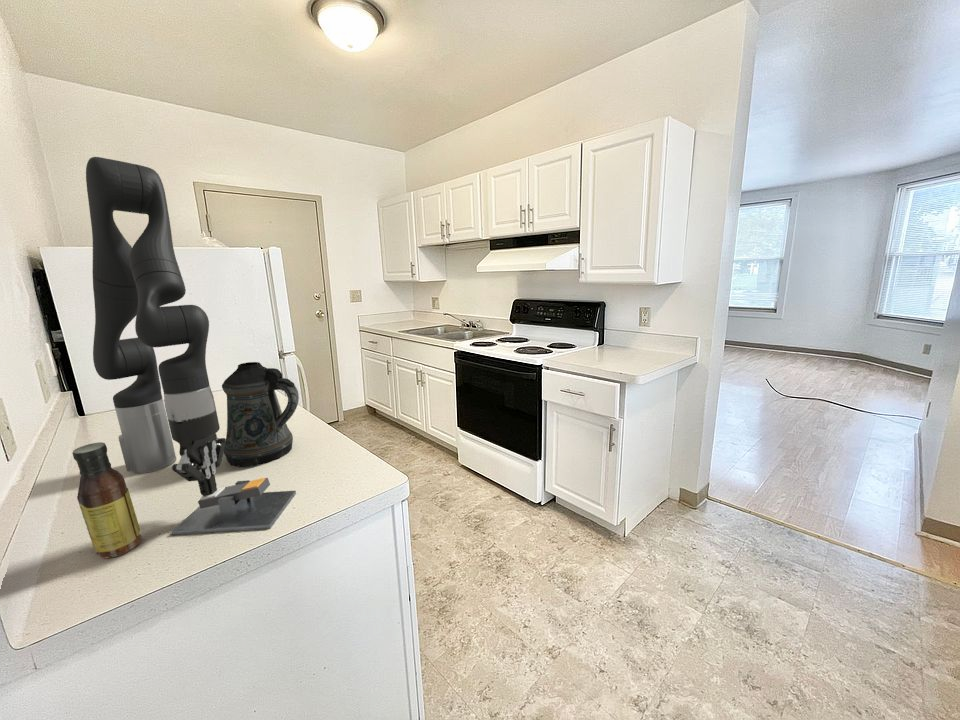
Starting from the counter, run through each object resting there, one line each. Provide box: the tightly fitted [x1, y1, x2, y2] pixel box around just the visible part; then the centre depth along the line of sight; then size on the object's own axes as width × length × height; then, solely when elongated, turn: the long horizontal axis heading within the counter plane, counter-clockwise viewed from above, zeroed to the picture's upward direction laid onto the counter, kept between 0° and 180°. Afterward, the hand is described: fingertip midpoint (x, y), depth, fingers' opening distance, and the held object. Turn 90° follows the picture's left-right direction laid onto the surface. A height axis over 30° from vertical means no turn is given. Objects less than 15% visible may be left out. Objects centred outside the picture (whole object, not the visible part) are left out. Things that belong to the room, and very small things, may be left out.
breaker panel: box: [170, 479, 297, 536], centre depth 79 cm, size 18×12×5 cm, turn 93°
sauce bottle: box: [72, 441, 142, 559], centre depth 68 cm, size 6×6×20 cm
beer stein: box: [221, 361, 300, 468], centre depth 105 cm, size 16×19×25 cm
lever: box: [197, 477, 271, 509], centre depth 79 cm, size 12×4×2 cm, turn 93°
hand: (209, 493), depth 78 cm, fingers closed
